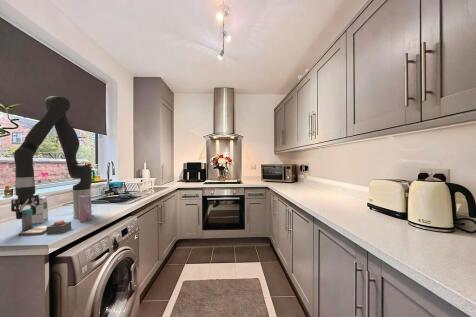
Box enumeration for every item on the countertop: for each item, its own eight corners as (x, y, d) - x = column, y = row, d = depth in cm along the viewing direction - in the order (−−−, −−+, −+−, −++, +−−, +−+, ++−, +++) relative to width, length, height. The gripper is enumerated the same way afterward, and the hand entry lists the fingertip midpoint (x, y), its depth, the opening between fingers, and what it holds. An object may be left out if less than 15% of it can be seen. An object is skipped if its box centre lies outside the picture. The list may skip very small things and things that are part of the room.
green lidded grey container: (26, 228, 116) (25, 209, 116) (35, 228, 117) (34, 208, 117) (19, 231, 112) (18, 211, 112) (28, 230, 113) (28, 210, 113)
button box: (56, 229, 114) (56, 222, 114) (71, 228, 115) (71, 221, 115) (46, 233, 107) (46, 226, 107) (62, 232, 108) (62, 225, 108)
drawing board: (37, 228, 117) (37, 226, 117) (58, 226, 118) (58, 224, 118) (18, 236, 105) (18, 233, 105) (41, 234, 106) (41, 232, 106)
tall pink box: (89, 218, 133) (89, 194, 133) (93, 220, 130) (92, 195, 130) (77, 221, 129) (77, 195, 129) (81, 222, 125) (80, 196, 125)
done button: (57, 223, 113) (57, 220, 113) (66, 223, 113) (66, 220, 113) (52, 226, 109) (51, 222, 109) (60, 225, 109) (60, 222, 109)
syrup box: (43, 222, 128) (43, 197, 128) (31, 223, 126) (30, 198, 126) (48, 219, 133) (47, 196, 133) (35, 221, 131) (35, 196, 131)
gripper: (28, 184, 121) (30, 213, 121) (4, 188, 107) (5, 221, 107) (43, 183, 122) (44, 212, 122) (21, 187, 108) (22, 220, 108)
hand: (26, 216), depth 115 cm, fingers open, 8 cm apart
